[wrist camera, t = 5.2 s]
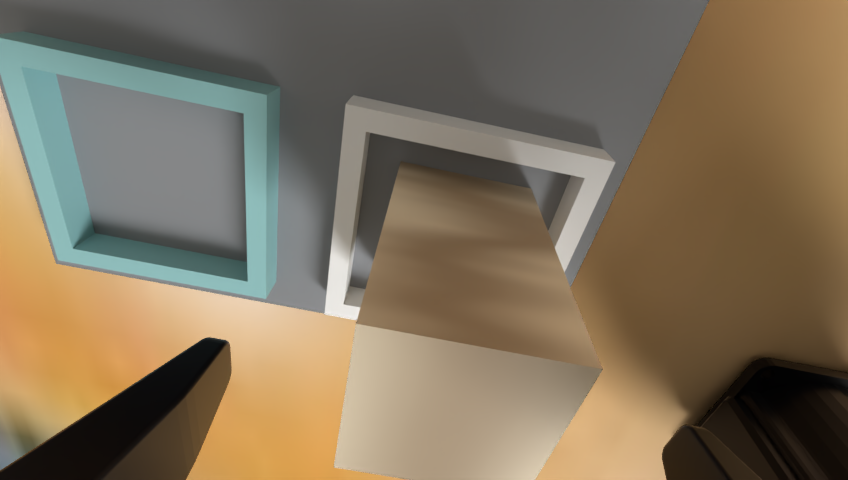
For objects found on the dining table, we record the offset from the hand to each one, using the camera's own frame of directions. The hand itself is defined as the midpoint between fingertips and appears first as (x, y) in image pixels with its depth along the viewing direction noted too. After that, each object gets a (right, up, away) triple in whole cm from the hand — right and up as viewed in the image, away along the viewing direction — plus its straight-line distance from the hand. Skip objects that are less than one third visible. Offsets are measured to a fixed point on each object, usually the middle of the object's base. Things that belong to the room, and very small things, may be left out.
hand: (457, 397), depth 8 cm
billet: (0, +3, +5) cm, 6 cm away
